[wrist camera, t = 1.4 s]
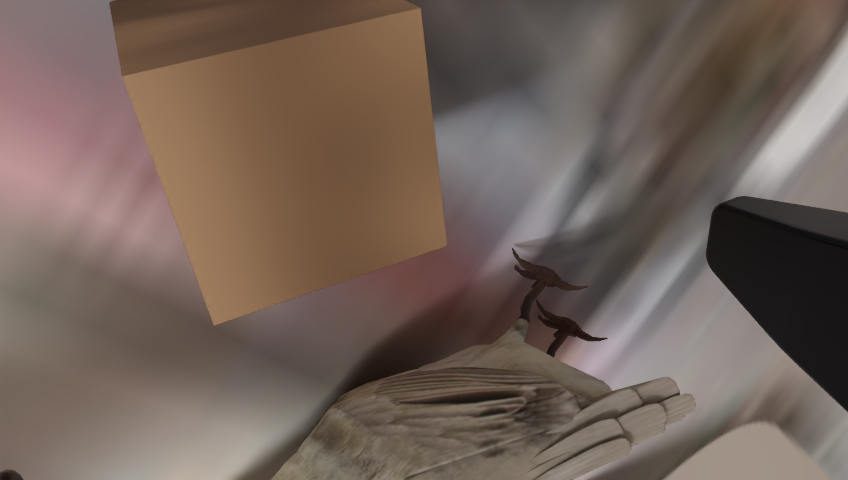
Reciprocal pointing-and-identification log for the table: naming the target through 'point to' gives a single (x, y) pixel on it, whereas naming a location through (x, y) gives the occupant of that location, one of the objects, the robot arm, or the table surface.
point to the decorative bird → (488, 414)
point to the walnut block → (286, 138)
